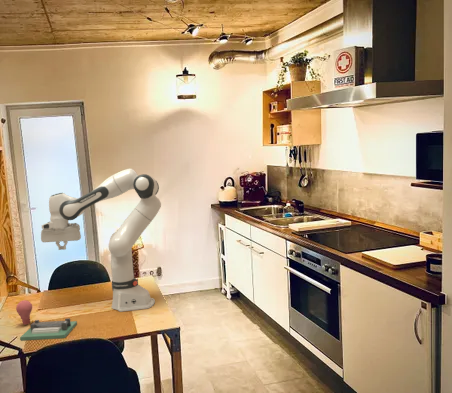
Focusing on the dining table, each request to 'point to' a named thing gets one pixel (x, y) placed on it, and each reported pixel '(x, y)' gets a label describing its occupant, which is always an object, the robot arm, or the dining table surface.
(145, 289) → the robot arm
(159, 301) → the dining table surface
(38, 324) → the steel strap
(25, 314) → the light bulb
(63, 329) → the heat sink board
